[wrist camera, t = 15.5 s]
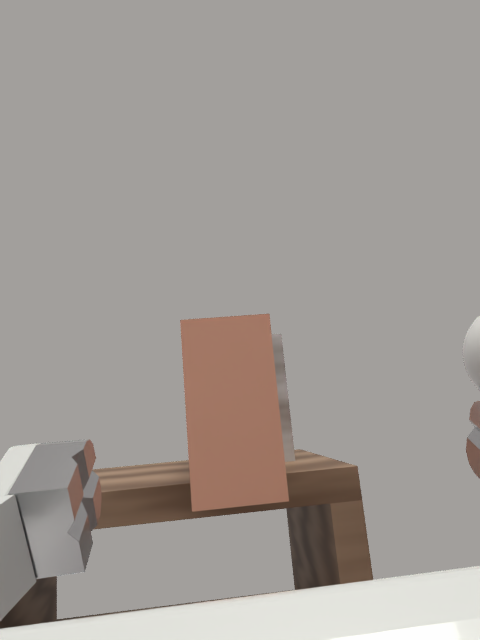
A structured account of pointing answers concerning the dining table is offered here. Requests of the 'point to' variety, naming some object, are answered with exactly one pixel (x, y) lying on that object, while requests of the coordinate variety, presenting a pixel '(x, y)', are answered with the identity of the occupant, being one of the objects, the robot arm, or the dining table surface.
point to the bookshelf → (175, 504)
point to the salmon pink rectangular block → (232, 413)
